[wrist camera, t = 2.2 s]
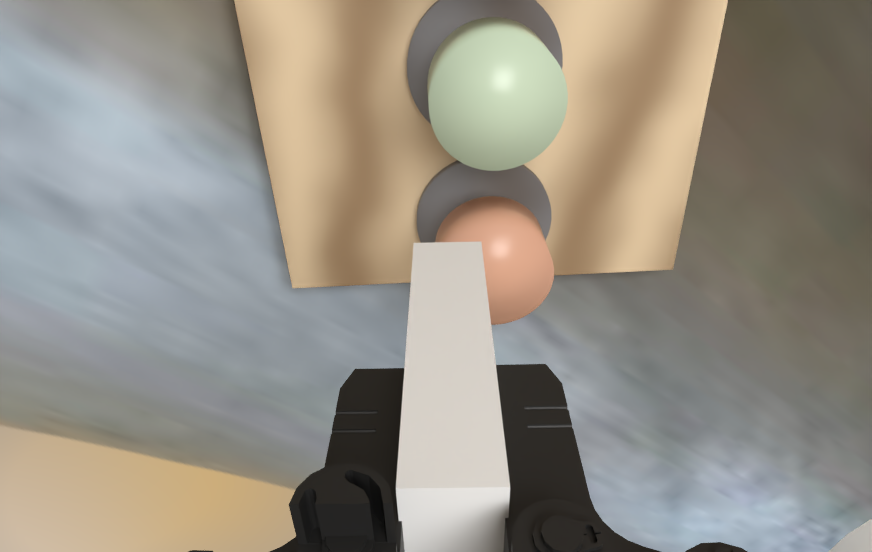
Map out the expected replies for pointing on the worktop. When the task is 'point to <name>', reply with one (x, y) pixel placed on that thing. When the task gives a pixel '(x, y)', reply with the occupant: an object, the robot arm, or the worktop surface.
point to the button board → (439, 171)
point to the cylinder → (856, 540)
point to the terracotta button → (504, 253)
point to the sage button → (495, 94)
